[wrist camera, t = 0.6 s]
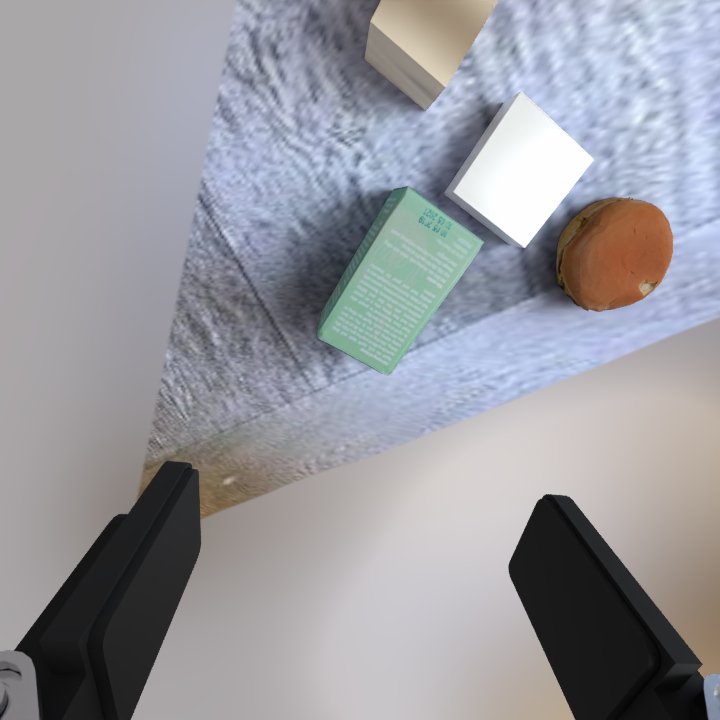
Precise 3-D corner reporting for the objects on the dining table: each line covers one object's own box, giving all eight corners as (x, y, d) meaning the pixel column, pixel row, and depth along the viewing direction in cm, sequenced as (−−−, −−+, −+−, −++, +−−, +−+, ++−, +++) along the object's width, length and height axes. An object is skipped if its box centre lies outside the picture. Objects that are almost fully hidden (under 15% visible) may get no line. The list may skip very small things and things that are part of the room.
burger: (590, 180, 31) (629, 176, 27) (666, 226, 33) (714, 229, 29) (526, 282, 35) (553, 292, 30) (598, 318, 37) (633, 333, 32)
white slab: (503, 102, 29) (521, 91, 26) (571, 164, 31) (593, 159, 28) (443, 193, 31) (453, 191, 28) (509, 244, 33) (524, 248, 30)
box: (317, 316, 35) (312, 341, 28) (391, 187, 31) (407, 180, 24) (379, 350, 37) (388, 382, 30) (457, 233, 33) (489, 239, 26)
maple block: (409, -27, 25) (429, -94, 20) (472, 32, 27) (506, -13, 21) (364, 59, 27) (370, 21, 22) (425, 111, 29) (445, 87, 23)
